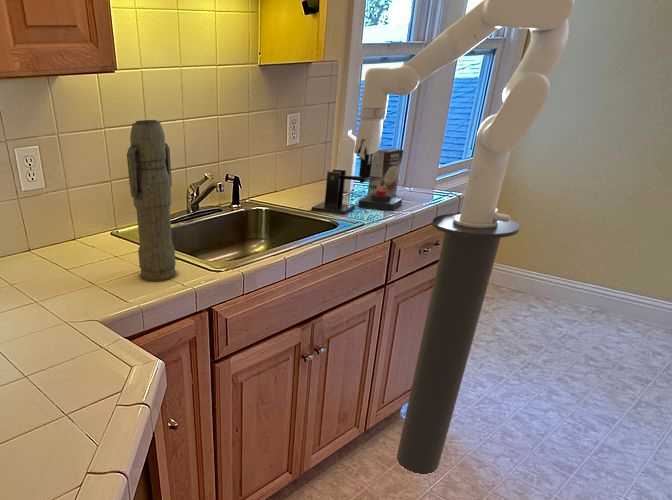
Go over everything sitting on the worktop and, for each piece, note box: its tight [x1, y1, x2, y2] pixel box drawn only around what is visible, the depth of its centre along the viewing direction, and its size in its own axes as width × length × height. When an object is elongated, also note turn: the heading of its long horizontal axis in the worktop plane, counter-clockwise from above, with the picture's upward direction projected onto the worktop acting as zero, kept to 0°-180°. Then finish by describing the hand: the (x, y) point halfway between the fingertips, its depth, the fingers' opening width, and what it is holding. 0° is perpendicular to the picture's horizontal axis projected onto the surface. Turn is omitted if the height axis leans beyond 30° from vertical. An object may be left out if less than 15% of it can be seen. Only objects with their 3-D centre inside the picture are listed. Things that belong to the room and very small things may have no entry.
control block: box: [357, 193, 403, 212], centre depth 174 cm, size 12×9×4 cm
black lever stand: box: [311, 168, 356, 215], centre depth 171 cm, size 12×9×13 cm
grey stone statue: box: [126, 119, 177, 282], centre depth 116 cm, size 9×12×35 cm
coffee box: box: [366, 148, 404, 197], centre depth 185 cm, size 9×6×16 cm
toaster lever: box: [340, 173, 371, 184], centre depth 166 cm, size 12×6×2 cm, turn 52°
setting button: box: [376, 189, 387, 196], centre depth 173 cm, size 4×4×2 cm
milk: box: [335, 129, 358, 193], centre depth 193 cm, size 6×6×22 cm
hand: (364, 176), depth 163 cm, fingers closed
